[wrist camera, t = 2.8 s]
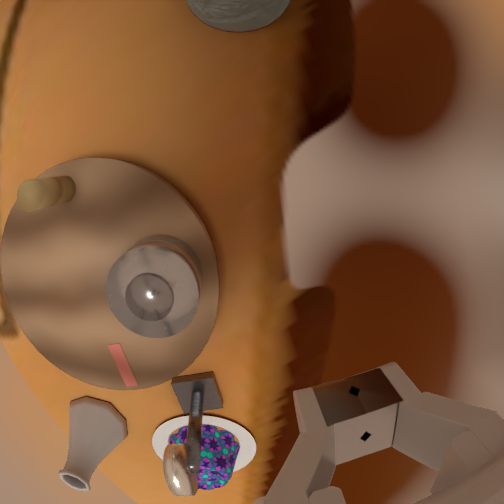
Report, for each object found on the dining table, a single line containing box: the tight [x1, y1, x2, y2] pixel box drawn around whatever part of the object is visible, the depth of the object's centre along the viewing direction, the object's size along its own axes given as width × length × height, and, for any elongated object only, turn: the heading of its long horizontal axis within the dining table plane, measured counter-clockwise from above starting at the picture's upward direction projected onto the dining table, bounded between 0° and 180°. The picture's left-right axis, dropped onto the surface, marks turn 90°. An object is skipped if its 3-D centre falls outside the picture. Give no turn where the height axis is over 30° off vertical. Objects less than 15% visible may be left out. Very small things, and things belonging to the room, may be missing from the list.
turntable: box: [1, 158, 219, 390], centre depth 21 cm, size 20×20×7 cm
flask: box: [59, 397, 127, 491], centre depth 24 cm, size 7×7×10 cm
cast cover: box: [106, 234, 203, 338], centre depth 20 cm, size 6×6×4 cm
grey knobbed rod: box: [163, 372, 223, 496], centre depth 22 cm, size 4×4×12 cm
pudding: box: [152, 415, 256, 490], centre depth 28 cm, size 12×12×5 cm
